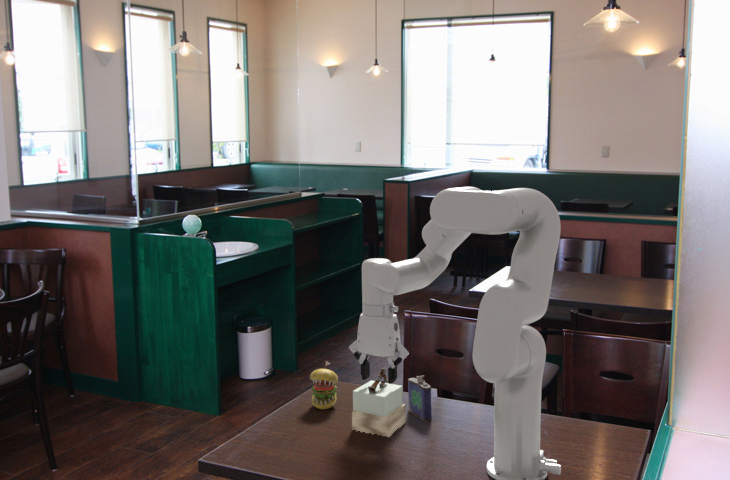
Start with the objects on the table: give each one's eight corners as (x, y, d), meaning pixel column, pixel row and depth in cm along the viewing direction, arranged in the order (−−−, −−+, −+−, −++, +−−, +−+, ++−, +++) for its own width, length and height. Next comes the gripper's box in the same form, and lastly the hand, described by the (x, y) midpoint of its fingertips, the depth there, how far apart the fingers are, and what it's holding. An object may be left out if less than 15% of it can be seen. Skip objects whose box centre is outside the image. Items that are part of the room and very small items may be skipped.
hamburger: (306, 409, 185) (304, 366, 183) (315, 400, 192) (314, 358, 190) (333, 412, 182) (332, 368, 181) (342, 402, 189) (341, 360, 188)
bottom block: (405, 423, 175) (405, 404, 175) (389, 438, 166) (389, 418, 166) (369, 417, 180) (369, 398, 179) (352, 431, 171) (351, 412, 170)
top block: (402, 405, 174) (402, 385, 174) (385, 417, 167) (384, 397, 166) (371, 399, 179) (371, 380, 178) (353, 410, 171) (352, 391, 171)
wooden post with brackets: (391, 379, 176) (387, 365, 173) (378, 401, 170) (374, 387, 168) (385, 378, 176) (381, 364, 174) (371, 400, 171) (367, 386, 168)
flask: (406, 411, 183) (406, 371, 181) (415, 408, 184) (415, 369, 183) (425, 423, 175) (425, 382, 173) (435, 420, 176) (435, 380, 175)
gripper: (416, 309, 169) (417, 380, 171) (353, 303, 177) (354, 371, 179) (404, 316, 162) (405, 389, 165) (339, 309, 170) (340, 380, 172)
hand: (378, 379), depth 172 cm, fingers open, 6 cm apart
